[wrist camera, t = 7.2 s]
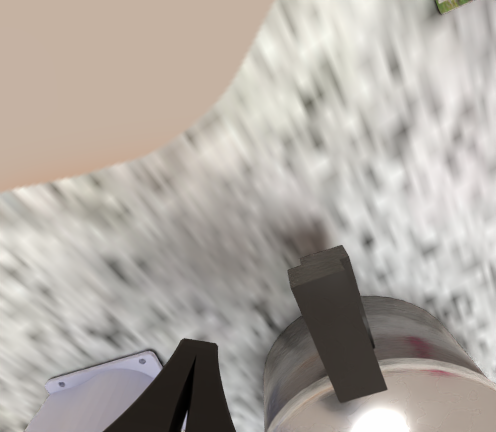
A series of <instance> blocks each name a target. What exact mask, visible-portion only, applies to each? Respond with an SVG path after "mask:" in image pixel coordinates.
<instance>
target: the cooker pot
mask: <svg viewBox="0 0 496 432" xmlns="http://www.w3.org/2000/svg"><path fill="white" fill-rule="evenodd" d="M334 253H336V254H337V256H338V258H339V260H340V261H341V263H342V265H343V267H344V269H345V272H346V275H347V277H348V280H349V283H350V286H351V288H352V291H353V294H354V297H355V300H356V302H357V305H358V308H359V311H360V314H361V316H362V319H363V322H364V325H365V327H366V330H367V333H368V336H369V339H370V341H371V344H372V347H373V350H374V352H375V355H376V358H377V360H384V359H394V358H420V359H432V360H437V361H443V362H448V363H452V364H455V365H458V366H462V367H465V368H468V369H470V370H472V371H474V372H476V373H479V374H481V375H483V376H484V377H486V376H485V375H484V374H483V373H482V371H481V370H480V369H479V368H478V367H477V365H476V364H475V363H474V362H473V360H472V359H471V358H470V357H469V356H468V354H467V353H466V352H465V351H464V350H463V348H462V347H461V346H460V345H459V344H458V342H457V341H456V340H455V339H454V338H453V336H452V335H451V334H450V333H449V332H448V330H447V329H446V328H445V327H444V326H443V325H442V324H441V323H440V322H439V321H438V320H437V319H436V318H435V317H434V316H432V315H431V314H429V313H428V312H427V311H425V310H423V309H421V308H419V307H417V306H415V305H413V304H410V303H407V302H405V301H401V300H397V299H393V298H387V297H378V296H361V297H360V293H359V290H358V286H357V283H356V279H355V276H354V273H353V269H352V266H351V262H350V259H349V256H348V254H347V253H346V251H345V249H344V247H343V246H342V245H341V246H337V247H334V248H331V249H328V250H324V251H321V252H318V253H315V254H312V255H308V256H305V257H302V258H300V261H301V265H303V264H306V263H309V262H312V261H315V260H317V259H320V258H323V257H326V256H329V255H332V254H334ZM326 376H328V374H327V372H326V370H325V367H324V365H323V363H322V360H321V358H320V356H319V353H318V351H317V348H316V346H315V344H314V341H313V339H312V337H311V334H310V332H309V330H308V327H307V325H306V323H305V320H304V318H303V316H301V317H300V318H298V319H297V320H296V321H294V322H293V323H292V324H291V325H290V326H288V327H287V328H286V329H285V331H284V332H283V333H282V334H281V335H280V336H279V337H278V339H277V340H276V342H275V343H274V344H273V346H272V348H271V350H270V352H269V354H268V357H267V360H266V363H265V367H264V374H263V385H264V426H265V432H267V430H268V428H269V426H270V424H271V423H272V421H273V420H274V418H275V417H276V415H277V414H278V413H279V411H280V410H281V409H282V408H283V407H284V406H285V405H286V404H287V403H288V402H289V401H290V400H291V399H292V398H293V397H294V396H296V395H297V394H298V393H299V392H301V391H302V390H303V389H305V388H306V387H308V386H309V385H311V384H313V383H314V382H316V381H317V380H319V379H322V378H324V377H326ZM486 378H487V377H486Z"/></svg>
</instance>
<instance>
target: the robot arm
mask: <svg viewBox="0 0 496 432" xmlns="http://www.w3.org/2000/svg"><path fill="white" fill-rule="evenodd" d="M142 359H144V360H142ZM63 382H64V383H63ZM45 388H46V390H47V391H48V393H49V394H50V395H49V396H48V398H47V399H46V400H45V402H44V403H43V405H42V406H41V408H40V409H39V410H38V412H37V413H36V415H35V416H34V418H33V419H32V420H31V422H30V423H29V425H28V426H27V428H26V429H25V430H24V432H181V431H182V430H185V432H236V430H235V428H234V425H233V422H232V419H231V416H230V413H229V409H228V406H227V402H226V399H225V395H224V391H223V386H222V381H221V376H220V371H219V363H218V346H217V344H216V343H210V342H204V341H198V340H192V339H185V338H184V339H182V340H181V341H180V343H179V345H178V347H177V349H176V350H175V352H174V353H173V355H172V356H171V358H170V359H169V361H168V362H167V363H166V365H165V366H164V367H162V366H161V364H160V362H159V360H158V358H157V357H156V355H155V354H154V353H153V352H151V351H146V352H143V353H140V354H136V355H133V356H129V357H126V358H122V359H119V360H115V361H112V362H108V363H105V364H102V365H98V366H95V367H91V368H88V369H84V370H81V371H77V372H74V373H70V374H67V375H64V376H60V377H57V378H53V379H50V380H48V381H47V383H46V384H45ZM187 410H188V411H187Z"/></svg>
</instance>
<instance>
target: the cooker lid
mask: <svg viewBox="0 0 496 432" xmlns="http://www.w3.org/2000/svg"><path fill="white" fill-rule="evenodd" d="M288 275H289V281H290V286H291V290H292V292H293V294H294V297H295V299H296V301H297V304H298V306H299V308H300V311H301V313H302V316H303V318H304V320H305V323H306V325H307V327H308V330H309V332H310V334H311V337H312V339H313V341H314V344H315V346H316V348H317V351H318V353H319V356H320V358H321V360H322V363H323V365H324V367H325V370H326V372H327V374H328V376H326V377H324V378H322V379H319V380H317V381H316V382H314V383H313V384H311V385H309V386H308V387H306V388H305V389H303V390H302V391H301V392H299V393H298V394H297V395H296V396H294V397H293V398H292V399H291V400H290V401H289V402H288V403H287V404H286V405H285V406H284V407H283V408H282V409H281V410H280V411H279V413H278V414H277V415H276V417H275V418H274V420H273V421H272V423H271V424H270V426H269V428H268V430H267V432H496V384H495V383H494V382H492V381H491V380H489V379H487V378H486V377H484V376H483V375H481V374H479V373H476V372H474V371H472V370H470V369H468V368H465V367H462V366H458V365H455V364H452V363H448V362H443V361H437V360H432V359H420V358H394V359H384V360H377V358H376V355H375V352H374V350H373V347H372V344H371V341H370V339H369V336H368V333H367V330H366V327H365V325H364V322H363V319H362V316H361V314H360V311H359V308H358V305H357V302H356V300H355V297H354V294H353V291H352V288H351V286H350V283H349V280H348V277H347V275H346V272H345V269H344V267H343V265H342V263H341V261H340V260H339V258H338V256H337V254H336V253H334V254H332V255H329V256H326V257H323V258H320V259H317V260H315V261H312V262H309V263H306V264H303V265H300V266H297V267H295V268H292V269H289V270H288Z"/></svg>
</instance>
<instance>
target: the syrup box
mask: <svg viewBox="0 0 496 432" xmlns="http://www.w3.org/2000/svg"><path fill="white" fill-rule="evenodd" d="M435 1H436V3H437V6H438V8H439V10H440V13H441V14H445V13H448V12H450V11H452V10H454V9H457V8H459V7H461V6H463V5H466V4H468V3H470V2H473V1H475V0H435Z"/></svg>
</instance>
